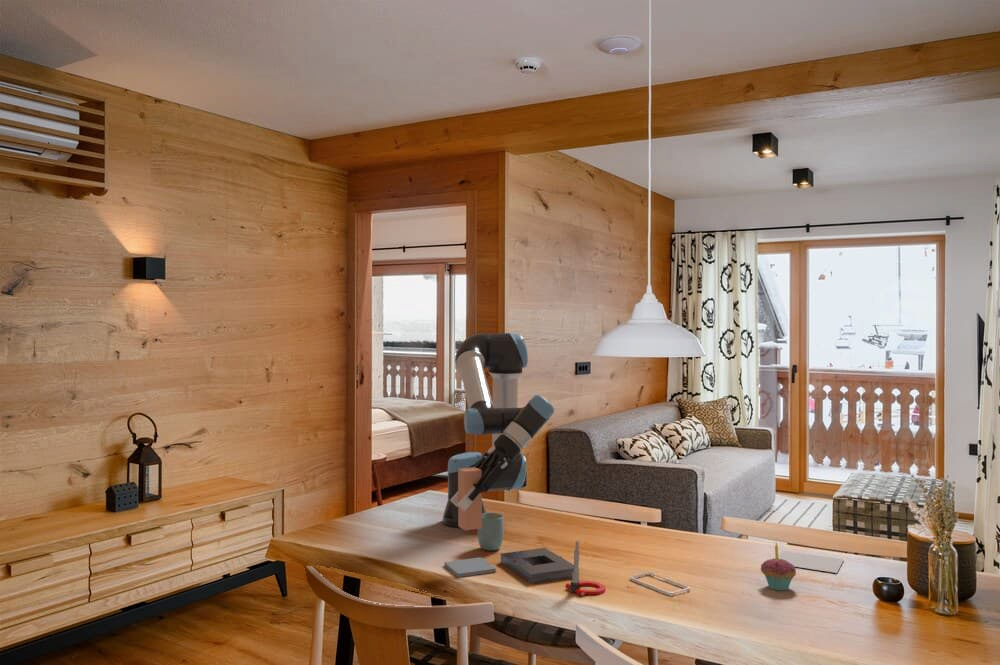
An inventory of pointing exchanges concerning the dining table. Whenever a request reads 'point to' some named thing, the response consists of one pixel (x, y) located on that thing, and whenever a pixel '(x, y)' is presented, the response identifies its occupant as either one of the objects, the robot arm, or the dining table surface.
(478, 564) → the pad
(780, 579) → the cupcake
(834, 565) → the paper stack
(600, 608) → the dining table surface
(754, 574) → the dining table surface
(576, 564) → the tow hook
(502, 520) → the cup
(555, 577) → the socket block
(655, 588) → the phone case
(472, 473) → the peg
